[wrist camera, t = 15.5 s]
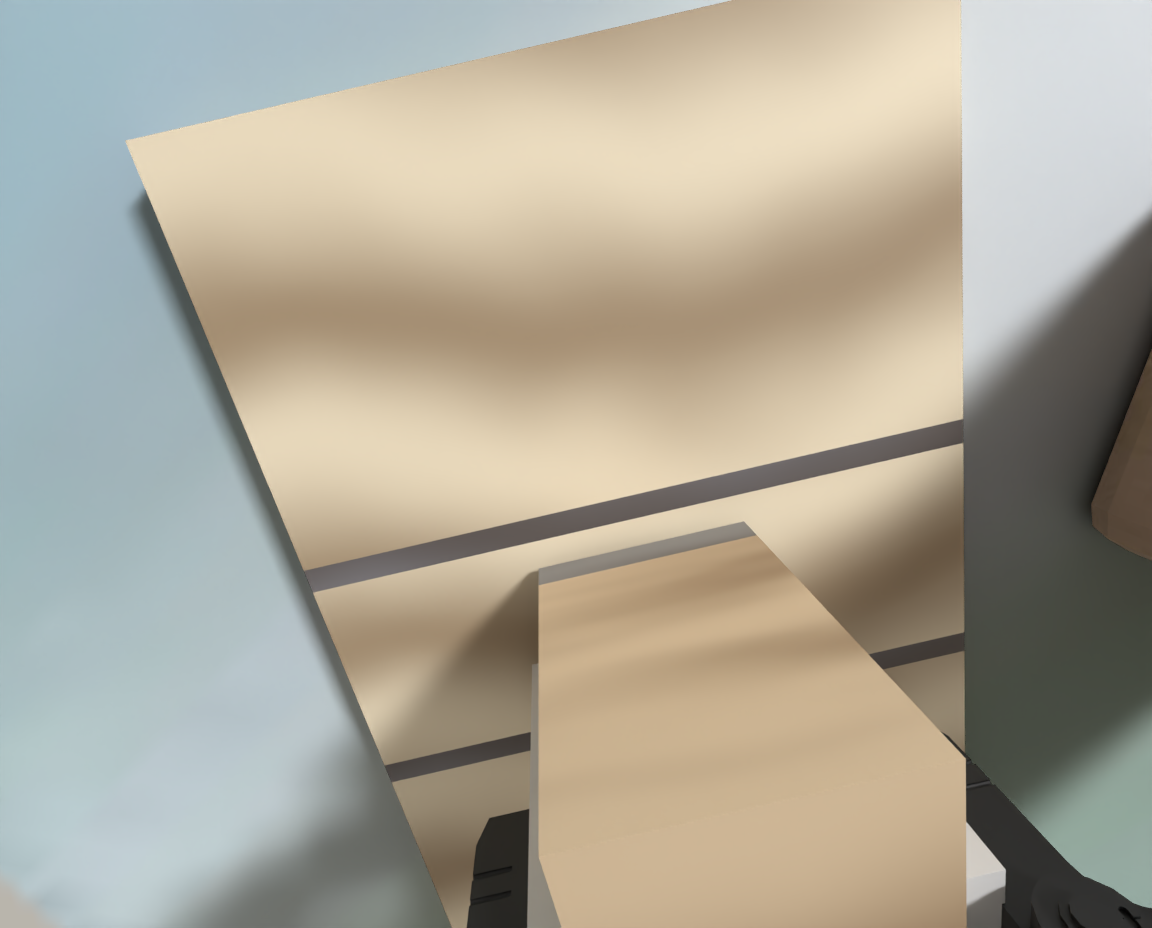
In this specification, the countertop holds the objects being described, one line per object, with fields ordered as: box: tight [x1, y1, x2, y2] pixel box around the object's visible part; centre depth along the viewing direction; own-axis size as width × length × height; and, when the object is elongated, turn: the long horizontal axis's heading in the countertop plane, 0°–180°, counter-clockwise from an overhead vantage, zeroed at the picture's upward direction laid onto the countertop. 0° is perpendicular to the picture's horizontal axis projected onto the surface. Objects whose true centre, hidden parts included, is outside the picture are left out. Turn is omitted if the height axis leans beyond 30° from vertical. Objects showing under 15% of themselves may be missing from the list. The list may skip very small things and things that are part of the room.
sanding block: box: [539, 521, 967, 928], centre depth 11 cm, size 8×5×7 cm, turn 12°
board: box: [126, 0, 965, 928], centre depth 14 cm, size 25×16×1 cm, turn 13°
